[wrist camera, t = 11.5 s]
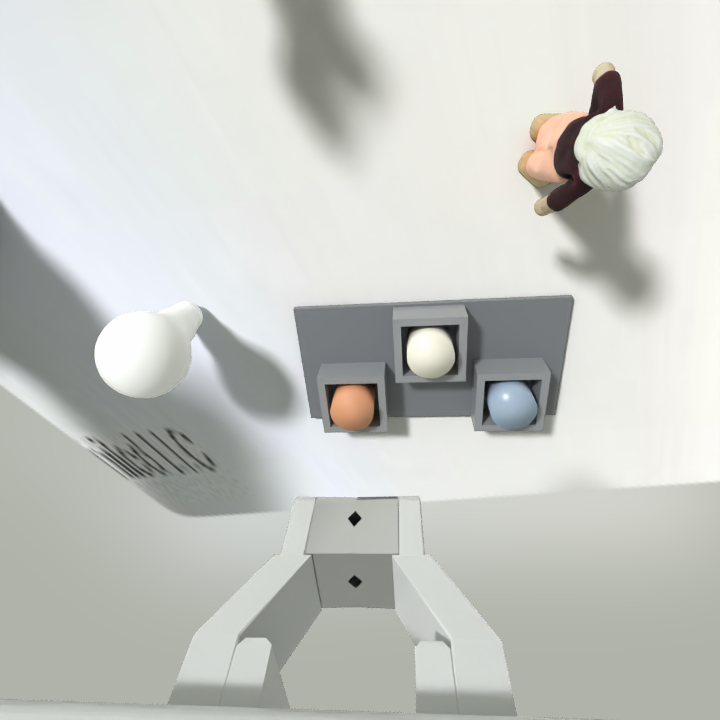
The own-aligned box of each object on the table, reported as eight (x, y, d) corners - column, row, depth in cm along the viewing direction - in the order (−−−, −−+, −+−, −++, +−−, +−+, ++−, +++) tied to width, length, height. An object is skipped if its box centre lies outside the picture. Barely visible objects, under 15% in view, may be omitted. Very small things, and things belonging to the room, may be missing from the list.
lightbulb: (142, 299, 38) (53, 361, 28) (194, 263, 36) (117, 316, 26) (190, 354, 40) (123, 429, 30) (241, 323, 38) (187, 392, 28)
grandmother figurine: (562, 202, 31) (649, 249, 20) (507, 199, 31) (563, 244, 20) (594, 73, 27) (724, 43, 16) (532, 70, 28) (617, 39, 17)
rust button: (337, 410, 40) (332, 430, 38) (332, 376, 39) (327, 395, 36) (376, 409, 40) (374, 430, 37) (374, 375, 38) (371, 394, 35)
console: (312, 414, 42) (306, 434, 39) (294, 306, 37) (286, 321, 34) (553, 411, 40) (563, 432, 37) (571, 294, 34) (584, 309, 32)
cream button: (407, 360, 37) (407, 378, 34) (406, 321, 35) (406, 337, 33) (450, 359, 37) (454, 377, 34) (451, 319, 35) (455, 335, 32)
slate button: (483, 408, 39) (489, 429, 36) (485, 372, 37) (492, 392, 34) (526, 407, 38) (534, 429, 36) (530, 371, 37) (540, 391, 34)
